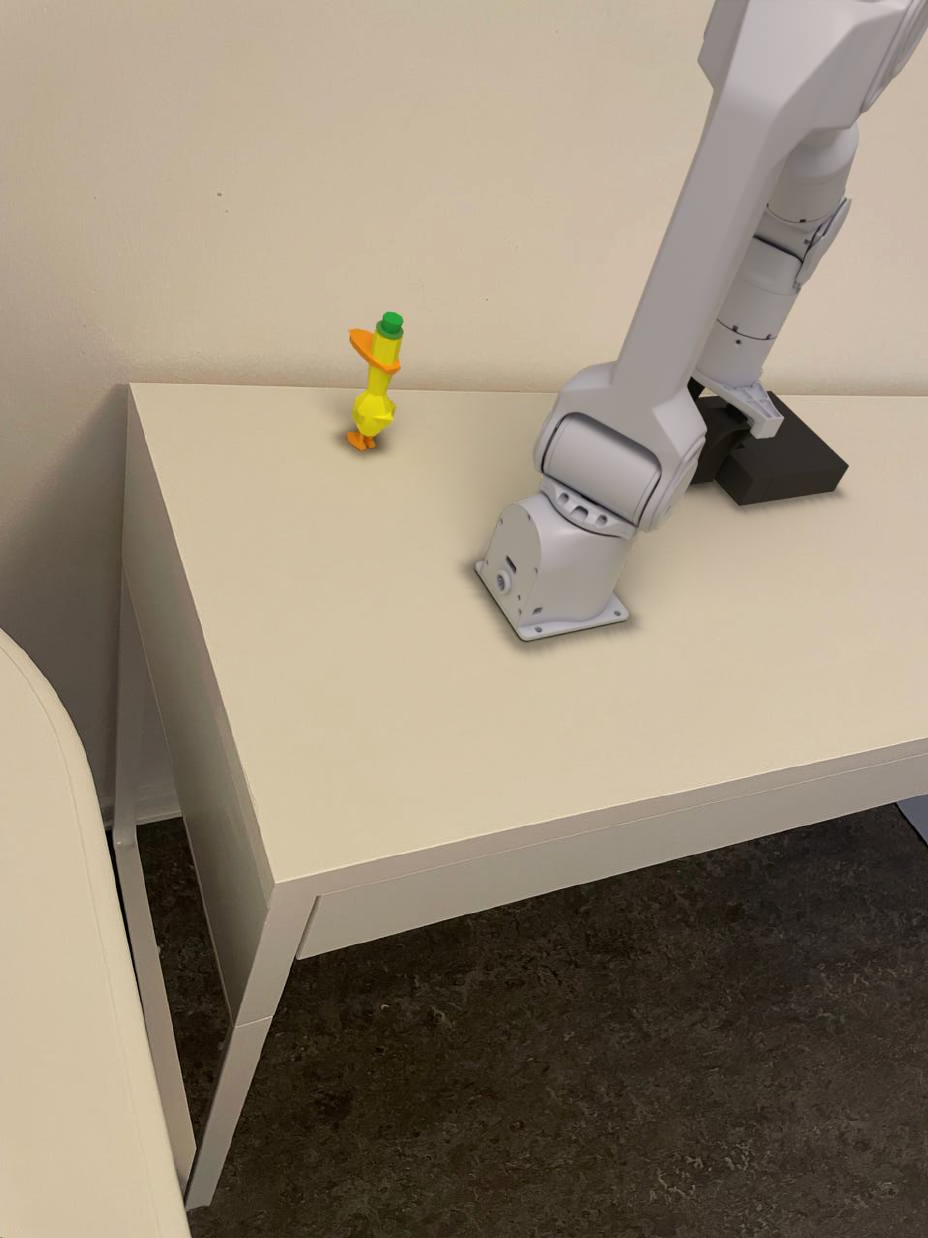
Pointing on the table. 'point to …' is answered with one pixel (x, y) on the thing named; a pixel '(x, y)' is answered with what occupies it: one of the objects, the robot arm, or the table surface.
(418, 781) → the table surface
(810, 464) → the big pad
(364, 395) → the toy figure
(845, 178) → the robot arm
